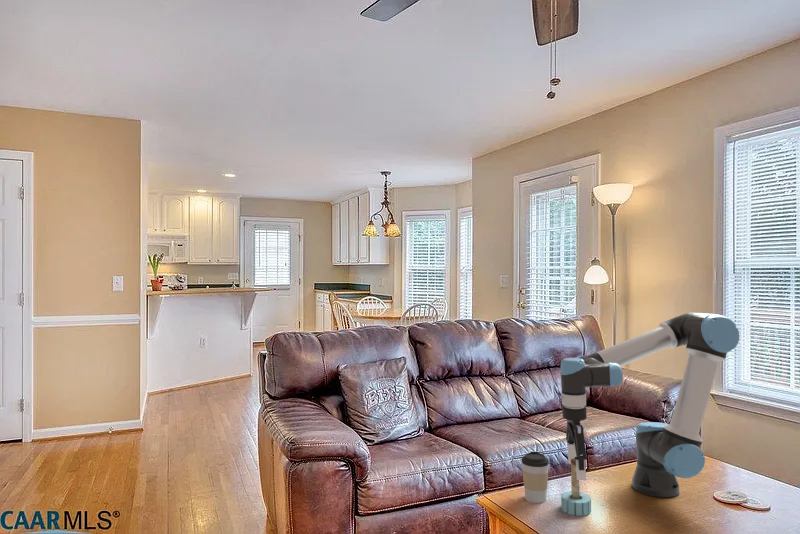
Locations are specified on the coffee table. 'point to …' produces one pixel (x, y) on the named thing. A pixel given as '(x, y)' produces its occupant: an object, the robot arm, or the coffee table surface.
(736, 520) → the coffee table surface
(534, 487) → the coffee cup
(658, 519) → the coffee table surface
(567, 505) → the bead
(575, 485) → the tan cylindrical rod
